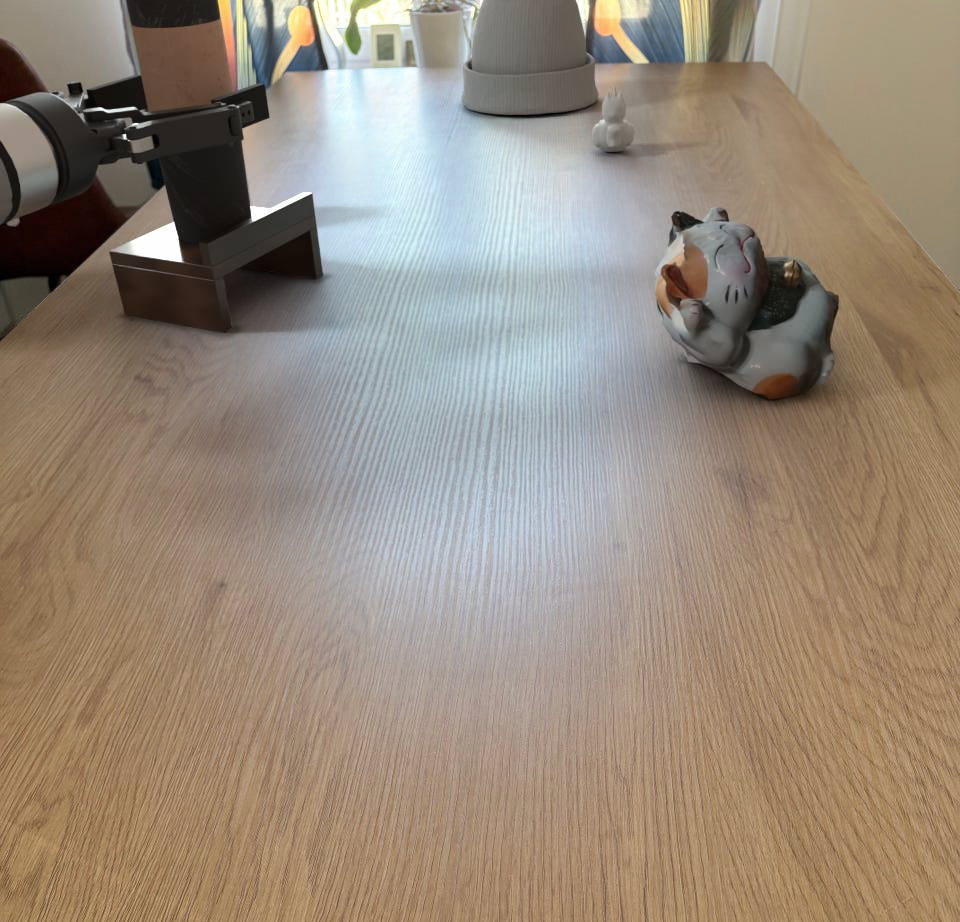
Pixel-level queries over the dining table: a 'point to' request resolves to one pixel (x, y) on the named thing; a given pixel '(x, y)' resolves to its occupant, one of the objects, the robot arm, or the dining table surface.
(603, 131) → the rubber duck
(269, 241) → the shelf
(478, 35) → the beanie hat
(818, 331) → the lucky cat figurine
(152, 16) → the travel mug
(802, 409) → the dining table surface
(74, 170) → the robot arm
